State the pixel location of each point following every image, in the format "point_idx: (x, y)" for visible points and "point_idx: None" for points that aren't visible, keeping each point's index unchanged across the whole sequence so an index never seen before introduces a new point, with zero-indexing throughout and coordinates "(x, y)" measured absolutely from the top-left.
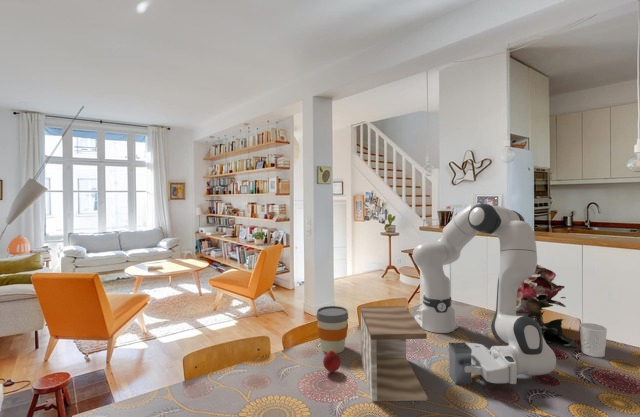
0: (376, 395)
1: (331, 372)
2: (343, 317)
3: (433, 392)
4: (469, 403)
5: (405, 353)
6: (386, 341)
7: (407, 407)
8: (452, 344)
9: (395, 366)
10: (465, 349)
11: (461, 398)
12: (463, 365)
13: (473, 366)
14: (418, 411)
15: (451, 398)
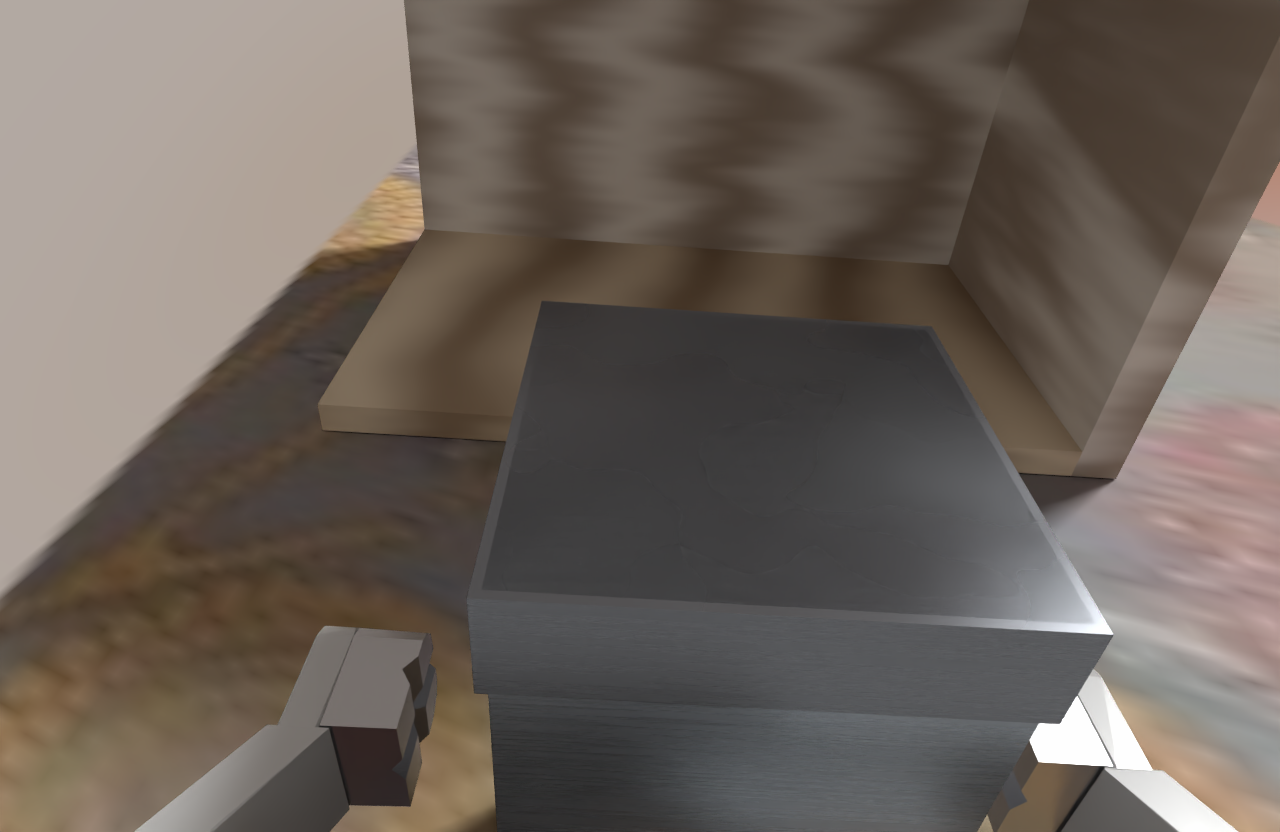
0: (423, 213)
1: None
2: None
3: (428, 503)
4: (49, 752)
5: (1100, 404)
6: (1062, 190)
7: (297, 328)
8: (840, 345)
9: None
10: (507, 454)
11: (201, 706)
12: (423, 634)
13: (246, 780)
14: (219, 358)
15: (257, 606)
